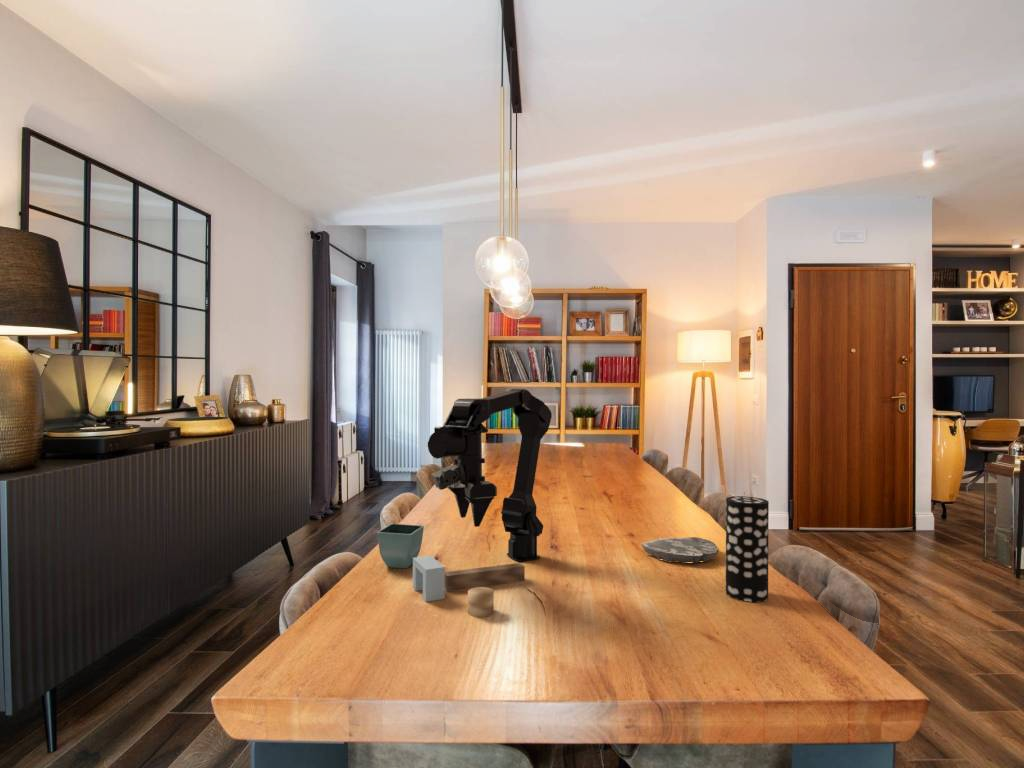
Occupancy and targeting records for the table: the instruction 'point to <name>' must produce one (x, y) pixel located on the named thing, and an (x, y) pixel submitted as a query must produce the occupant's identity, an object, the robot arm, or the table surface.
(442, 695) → the table surface
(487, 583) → the brown wooden bar
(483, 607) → the bead
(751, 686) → the table surface
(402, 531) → the flower pot
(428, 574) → the grey arch block
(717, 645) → the table surface
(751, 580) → the white-spotted black cylinder
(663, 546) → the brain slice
